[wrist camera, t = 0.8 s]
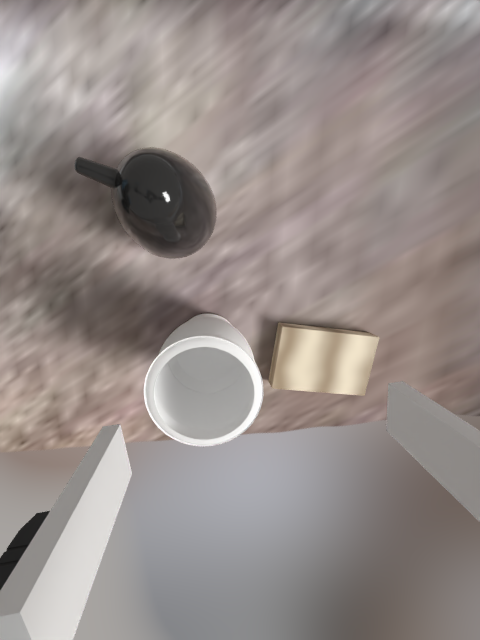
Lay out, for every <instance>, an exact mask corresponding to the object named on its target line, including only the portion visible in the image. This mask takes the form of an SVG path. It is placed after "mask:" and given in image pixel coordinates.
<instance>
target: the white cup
mask: <svg viewBox="0 0 480 640" xmlns="http://www.w3.org/2000/svg"><path fill="white" fill-rule="evenodd" d="M144 399H145V404H146V407H147V410H148V413H149V415H150V417H151V418H152V420H153V421H154V423H155V424H156V425H157V426H158V427H159V429H160V430H162V431H163V432H164V433H165V434H166V435H168V436H169V437H171V438H173V439H175V440H177V441H179V442H182V443H185V444H188V445H193V446H214V445H219V444H222V443H226V442H228V441H230V440H232V439H234V438H236V437H238V436H239V435H241V434H242V433H243V432H244V431H245V430H247V429H248V428H249V426H250V425H251V424H252V423H253V421H254V420H255V418H256V417H257V415H258V413H259V411H260V408H261V405H262V401H263V381H262V377H261V374H260V371H259V369H258V366H257V364H256V363H255V360H254V356H253V353H252V350H251V348H250V346H249V344H248V342H247V341H246V339H245V338H244V336H243V335H242V334H241V333H240V332H239V331H238V330H237V329H236V328H235V327H233V326H232V325H231V323H230V322H229V321H227V320H226V319H225V318H223V317H221V316H219V315H215V314H200V315H197V316H195V317H193V318H191V319H190V320H188V321H187V322H186V323H184V324H182V325H181V326H179V327H178V328H177V329H175V330H174V331H173V332H172V333H171V334H170V335H169V337H168V338H167V339H166V341H165V342H164V344H163V346H162V348H161V350H160V352H159V355H158V356H157V357H156V359H155V360H154V361H153V363H152V364H151V366H150V368H149V370H148V373H147V375H146V379H145V384H144Z"/></svg>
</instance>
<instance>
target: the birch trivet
mask: <svg viewBox="0 0 480 640" xmlns="http://www.w3.org/2000/svg"><path fill="white" fill-rule="evenodd" d="M378 340H379V337H378V336H375V335H373V334H371V333H369V332H360V331H351V330H342V329H333V328H324V327H315V326H306V325H297V324H288V323H279V322H278V327H277V333H276V339H275V345H274V351H273V356H272V362H271V368H270V374H269V380H268V381H269V383H270V385H271V387H272V388H274V389H286V390H299V391H312V392H324V393H337V394H349V395H362V396H364V395H365V391H366V387H367V384H368V380H369V376H370V372H371V368H372V364H373V360H374V356H375V352H376V348H377V344H378Z"/></svg>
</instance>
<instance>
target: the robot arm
mask: <svg viewBox="0 0 480 640" xmlns="http://www.w3.org/2000/svg"><path fill="white" fill-rule="evenodd" d="M386 430H387V432H388V433H389V434H390V435H391V436H392V437H393V438H394V439H395V440H396V441H397V442H398V443H399V444H400V445H401V446H403V447H404V448H405V449H406V450H407V451H408V452H409V453H410V454H411V455H412V456H413V457H414V458H415V459H416V460H417V461H418V462H419V463H420V464H421V465H422V466H423V467H424V468H425V469H426V470H427V471H428V472H429V473H430V474H431V475H432V476H433V477H434V478H435V479H436V480H437V481H438V482H439V483H441V485H443V487H445V488H446V489H447V490H448V491H449V492H450V493H451V494H452V495H453V496H454V497H455V498H456V499H457V500H458V501H459V502H460V503H461V504H462V505H463V506H464V507H465V508H466V509H467V510H468V511H469V512H470V513H471V514H472V515H473V516H474V517H475V518H476V519H477V520H478V521H480V430H478V429H476V428H475V427H473V426H472V425H470V424H469V423H467V422H465V421H464V420H462V419H461V418H459V417H458V416H456V415H455V414H453V413H451V412H450V411H448V410H447V409H445V408H444V407H442V406H441V405H439V404H437V403H436V402H434V401H433V400H431V399H430V398H428V397H426V396H425V395H423V394H422V393H420V392H419V391H417V390H415V389H414V388H412V387H411V386H409V385H408V384H406V383H405V382H403V381H401V382H395V383H388V405H387V429H386ZM131 475H132V471H131V468H130V463H129V459H128V455H127V450H126V446H125V442H124V438H123V433H122V429H121V425H120V424H117V425H111V426H104V427H102V429H101V431H100V432H99V434H98V435H97V437H96V439H95V440H94V442H93V443H92V445H91V447H90V448H89V450H88V451H87V453H86V455H85V456H84V458H83V459H82V461H81V463H80V464H79V466H78V467H77V469H76V471H75V472H74V474H73V476H72V477H71V479H70V480H69V482H68V483H67V485H66V487H65V488H64V490H63V492H62V493H61V495H60V496H59V498H58V500H57V501H56V503H55V504H54V506H53V507H52V509H51V511H47V512H42V513H37V514H36V515H35V516H34V517H33V518H32V519H31V520H30V521H29V522H28V523H26V524H25V525H24V526H23V527H22V528H21V530H20V531H19V532H18V533H17V535H16V536H15V538H14V539H13V540H12V542H11V543H10V545H9V546H8V548H7V551H6V552H4V553H3V555H2V556H1V558H0V640H73V638H74V635H75V632H76V629H77V626H78V624H79V621H80V618H81V615H82V613H83V609H84V607H85V604H86V601H87V598H88V596H89V593H90V590H91V587H92V584H93V582H94V579H95V576H96V573H97V570H98V568H99V565H100V562H101V559H102V556H103V554H104V551H105V548H106V545H107V542H108V540H109V536H110V534H111V531H112V528H113V525H114V523H115V520H116V517H117V514H118V511H119V509H120V506H121V503H122V500H123V497H124V495H125V492H126V489H127V486H128V483H129V480H130V478H131Z"/></svg>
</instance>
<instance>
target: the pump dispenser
mask: <svg viewBox="0 0 480 640" xmlns="http://www.w3.org/2000/svg"><path fill="white" fill-rule="evenodd" d="M75 170H76V172H77V173H79V174H81V175H84V176H86V177H88V178H90V179H93V180H95V181H97V182H99V183H102V184H104V185H106V186H108V187H111V196H112V203H113V207H114V210H115V213H116V216H117V218H118V220H119V222H120V224H121V225H122V227H123V229H124V230H125V231H126V233H127V234H128V235H129V236H130V237H131V239H132V240H133V241H135V242H136V243H137V244H138V245H139V246H140V247H142V248H143V249H144V250H146V251H148V252H149V253H151V254H154V255H156V256H159V257H163V258H170V259H176V258H183V257H187V256H189V255H192V254H194V253H195V252H197V251H198V250H200V249H201V248H202V247H203V246H204V245H205V244H206V243H207V241H208V240H209V238H210V237H211V235H212V233H213V230H214V227H215V223H216V203H215V198H214V195H213V192H212V190H211V188H210V186H209V184H208V182H207V181H206V179H205V178H204V176H203V175H202V174H201V172H200V171H199V170H198V169H197V168H196V167H195V166H194V165H193V164H192V163H190V162H189V161H188V160H186V159H185V158H183V157H181V156H180V155H178V154H176V153H174V152H171V151H169V150H166V149H162V148H155V147H148V148H142V149H138V150H135V151H133V152H131V153H130V154H128V155H127V156H126V157H125V158H124V159H123V160H122V161H121V162H120V163H119V165H118V167H117V169H115V168H112V167H109V166H106V165H103V164H99V163H96V162H93V161H90V160H87V159H84V158H81V157H78V158H77V159H76V161H75Z"/></svg>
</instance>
